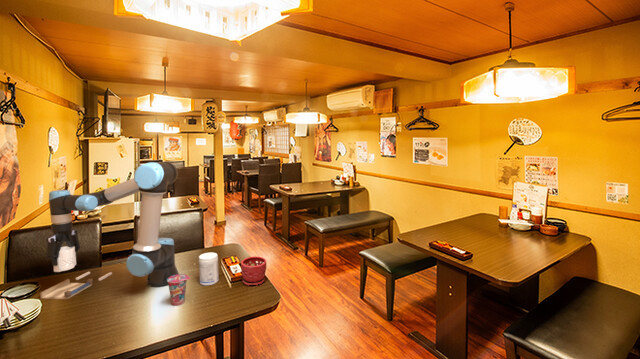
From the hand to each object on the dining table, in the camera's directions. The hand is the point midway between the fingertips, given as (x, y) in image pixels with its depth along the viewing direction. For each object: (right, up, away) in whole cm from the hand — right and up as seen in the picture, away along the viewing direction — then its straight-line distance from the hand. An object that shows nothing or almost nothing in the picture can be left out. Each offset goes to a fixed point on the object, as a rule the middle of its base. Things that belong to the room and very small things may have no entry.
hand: (65, 267), depth 140 cm
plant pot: (+89, -12, +13) cm, 91 cm away
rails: (+1, -10, +17) cm, 20 cm away
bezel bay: (0, -12, +1) cm, 12 cm away
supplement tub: (+65, -12, +13) cm, 68 cm away
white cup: (0, 0, 0) cm, 0 cm away
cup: (+60, -14, -8) cm, 62 cm away
